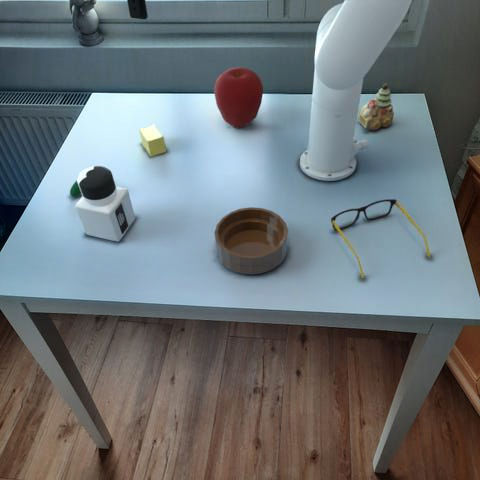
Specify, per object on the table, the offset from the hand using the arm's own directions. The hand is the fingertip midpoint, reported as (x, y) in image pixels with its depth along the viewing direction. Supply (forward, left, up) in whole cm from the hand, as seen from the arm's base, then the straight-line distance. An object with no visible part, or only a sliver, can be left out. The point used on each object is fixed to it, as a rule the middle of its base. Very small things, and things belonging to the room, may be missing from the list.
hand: (149, 7), depth 87 cm
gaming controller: (+21, +4, -32) cm, 38 cm away
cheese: (+3, -6, -31) cm, 32 cm away
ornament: (-48, +13, -32) cm, 59 cm away
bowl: (-1, +37, -31) cm, 48 cm away
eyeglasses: (-23, +47, -32) cm, 61 cm away
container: (+21, +16, -32) cm, 41 cm away
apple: (-20, -5, -32) cm, 38 cm away
